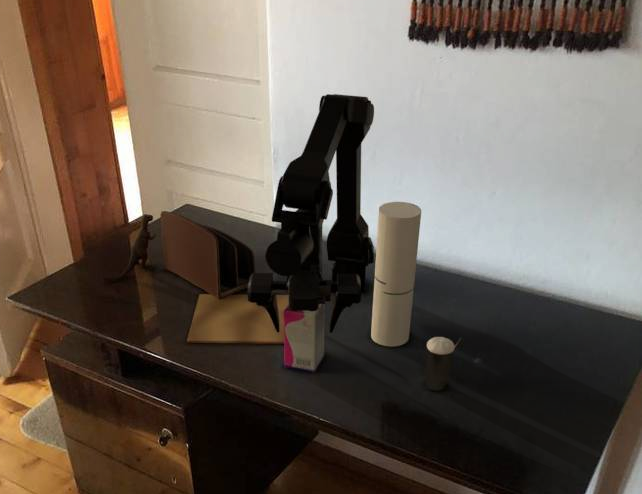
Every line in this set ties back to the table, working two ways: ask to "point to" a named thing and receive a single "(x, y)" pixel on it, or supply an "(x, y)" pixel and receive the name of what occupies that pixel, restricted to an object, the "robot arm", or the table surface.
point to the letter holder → (205, 255)
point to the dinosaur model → (139, 249)
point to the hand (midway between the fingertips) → (304, 331)
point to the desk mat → (235, 321)
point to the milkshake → (438, 362)
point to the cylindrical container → (395, 272)
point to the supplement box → (304, 338)
